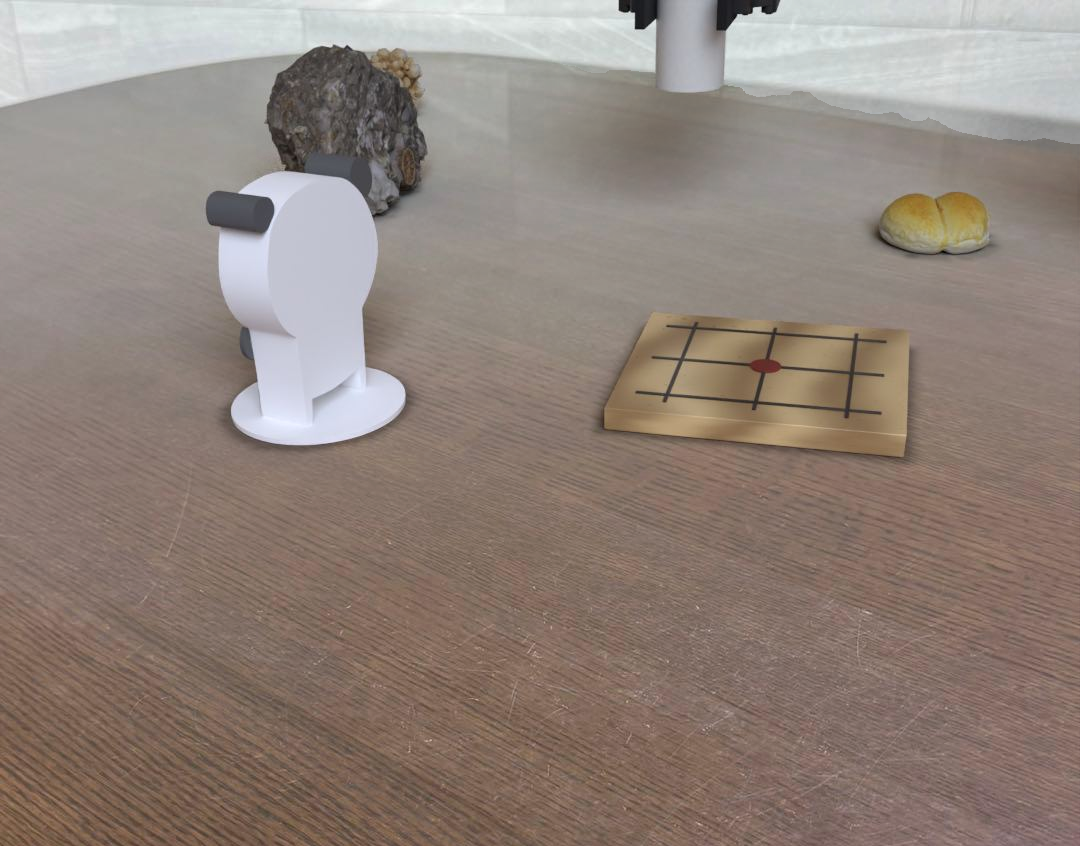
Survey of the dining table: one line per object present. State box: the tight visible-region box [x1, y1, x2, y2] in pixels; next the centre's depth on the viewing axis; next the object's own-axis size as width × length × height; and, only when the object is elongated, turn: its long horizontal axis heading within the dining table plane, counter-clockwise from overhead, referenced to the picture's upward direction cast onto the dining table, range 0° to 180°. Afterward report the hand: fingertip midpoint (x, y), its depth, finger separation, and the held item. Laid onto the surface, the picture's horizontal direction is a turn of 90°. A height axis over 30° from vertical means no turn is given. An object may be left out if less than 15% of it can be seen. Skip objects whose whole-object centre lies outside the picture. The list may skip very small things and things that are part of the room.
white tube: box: [654, 0, 727, 94], centre depth 96 cm, size 6×6×11 cm
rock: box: [263, 43, 429, 216], centre depth 113 cm, size 18×14×15 cm
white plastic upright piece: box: [205, 152, 407, 446], centre depth 75 cm, size 12×11×15 cm
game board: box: [603, 311, 911, 458], centre depth 79 cm, size 18×16×2 cm
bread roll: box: [878, 191, 991, 255], centre depth 101 cm, size 8×9×4 cm
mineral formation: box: [369, 47, 426, 111], centre depth 144 cm, size 8×13×15 cm
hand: (680, 10), depth 91 cm, fingers closed on white tube, 6 cm apart
